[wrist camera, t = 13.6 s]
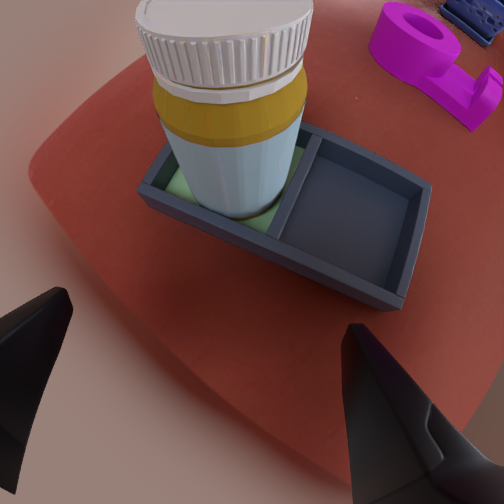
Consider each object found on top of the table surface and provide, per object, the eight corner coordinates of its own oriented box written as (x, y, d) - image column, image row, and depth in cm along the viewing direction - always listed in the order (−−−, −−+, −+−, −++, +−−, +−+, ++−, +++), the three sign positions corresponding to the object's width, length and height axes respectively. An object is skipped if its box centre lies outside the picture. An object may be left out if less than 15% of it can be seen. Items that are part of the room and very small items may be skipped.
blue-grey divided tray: (382, 312, 20) (401, 310, 17) (148, 206, 22) (135, 190, 19) (415, 198, 22) (432, 184, 19) (209, 110, 24) (205, 88, 21)
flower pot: (488, 56, 29) (517, 16, 18) (430, 11, 31) (451, -33, 20) (495, 42, 32) (518, 8, 20) (446, 3, 33) (463, -33, 22)
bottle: (195, 141, 22) (150, -26, 8) (283, 141, 22) (311, -32, 8) (187, 223, 21) (93, 64, 6) (286, 224, 21) (344, 53, 6)
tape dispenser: (356, 53, 26) (370, 13, 20) (383, 29, 28) (396, -4, 22) (471, 135, 24) (501, 106, 18) (480, 97, 26) (502, 70, 20)
